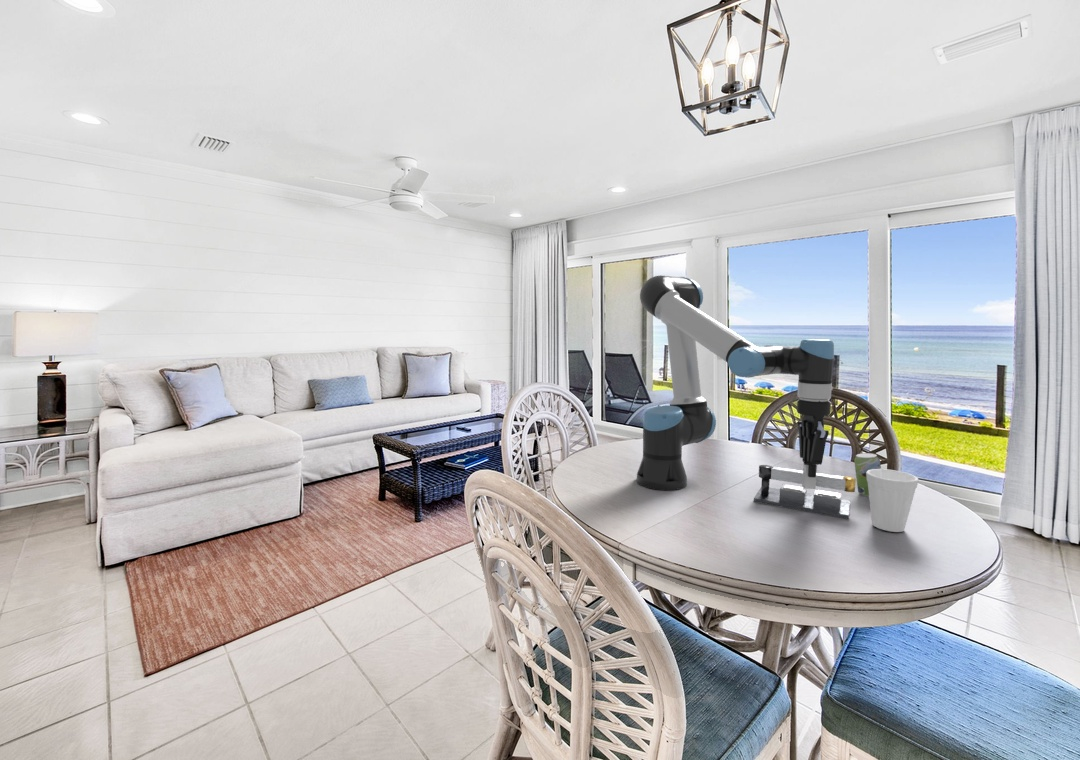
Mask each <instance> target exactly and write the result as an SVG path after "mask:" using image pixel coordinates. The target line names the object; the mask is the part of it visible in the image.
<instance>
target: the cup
mask: <svg viewBox="0 0 1080 760" xmlns="http://www.w3.org/2000/svg"><path fill="white" fill-rule="evenodd" d="M866 478H867V482H868V491H869V497H868V499H869V507H870V508H869V509H870V518H871V519H870V520H871V524H872V526H873V527H876V528H877V529H879V530H882V531H886V532H893V533H901V532H902V533H903V532H904V531H905V529H906V526H907V521H908V518H909V514H910V511H911V507H912V503H913V500H914V497H915V493H916V489H917V488H918V484H919V479H920V478H919V477H917V476H916V475H914V474H911V473H909V472H904V471H900V470H894V469H889V468H888V469H887V468H885V469H884V468H881V469H871V470H868V471H867V472H866Z"/></svg>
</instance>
